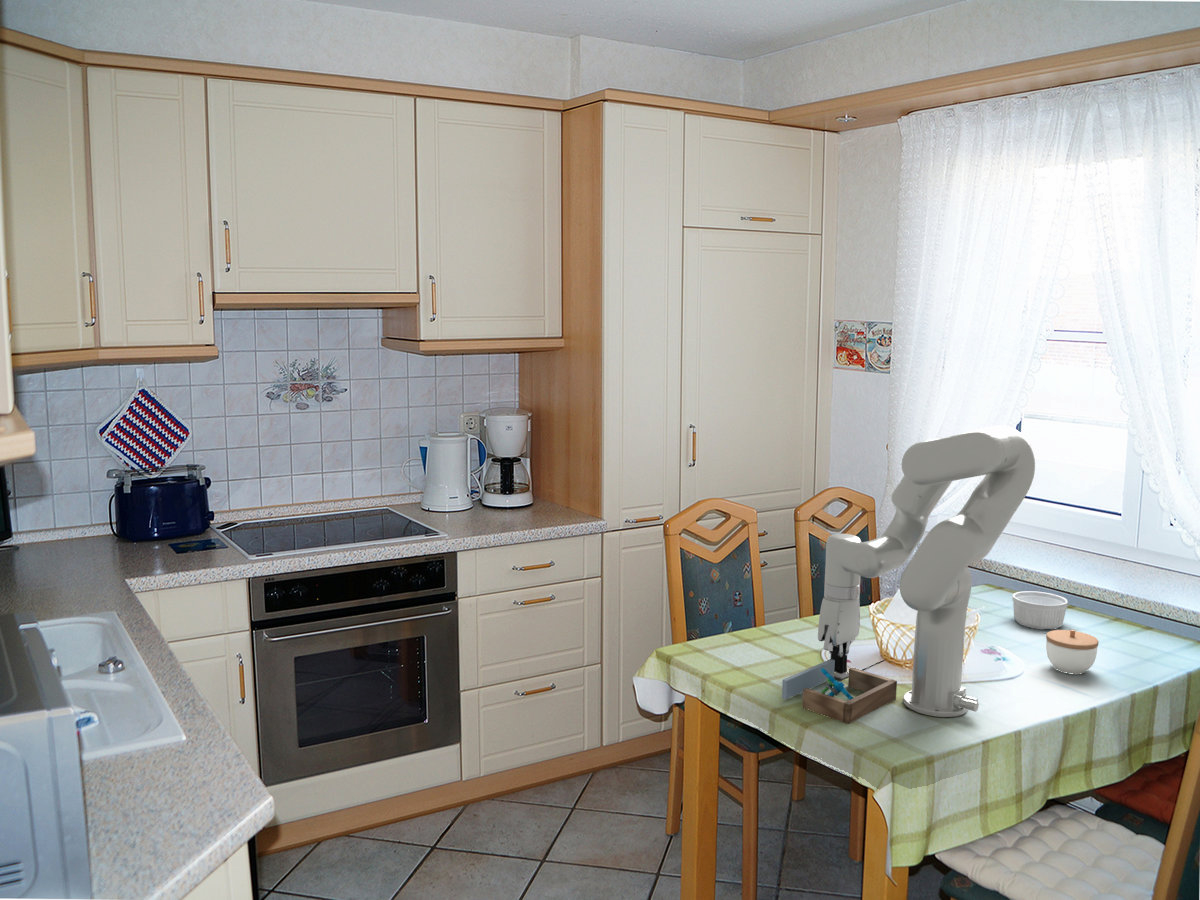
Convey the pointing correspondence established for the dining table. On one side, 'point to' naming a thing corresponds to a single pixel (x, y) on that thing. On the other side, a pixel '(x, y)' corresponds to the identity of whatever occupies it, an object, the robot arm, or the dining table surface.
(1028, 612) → the ramekin
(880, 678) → the frame
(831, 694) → the blue toy model
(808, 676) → the gate
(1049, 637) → the lidded jar
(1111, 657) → the dining table surface
